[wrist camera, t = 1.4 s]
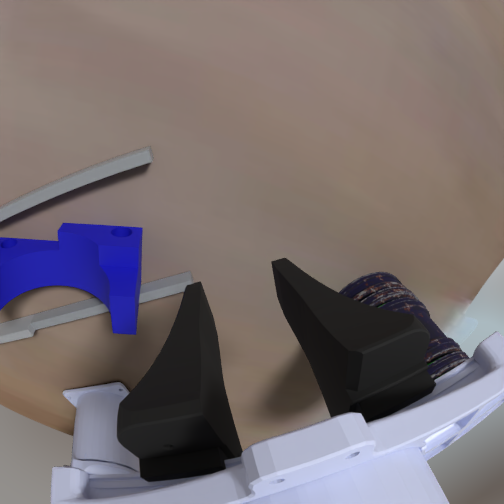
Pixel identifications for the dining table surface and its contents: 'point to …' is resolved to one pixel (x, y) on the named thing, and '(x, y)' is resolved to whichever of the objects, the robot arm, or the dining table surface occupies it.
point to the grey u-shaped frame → (94, 305)
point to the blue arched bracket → (79, 267)
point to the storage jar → (404, 301)
